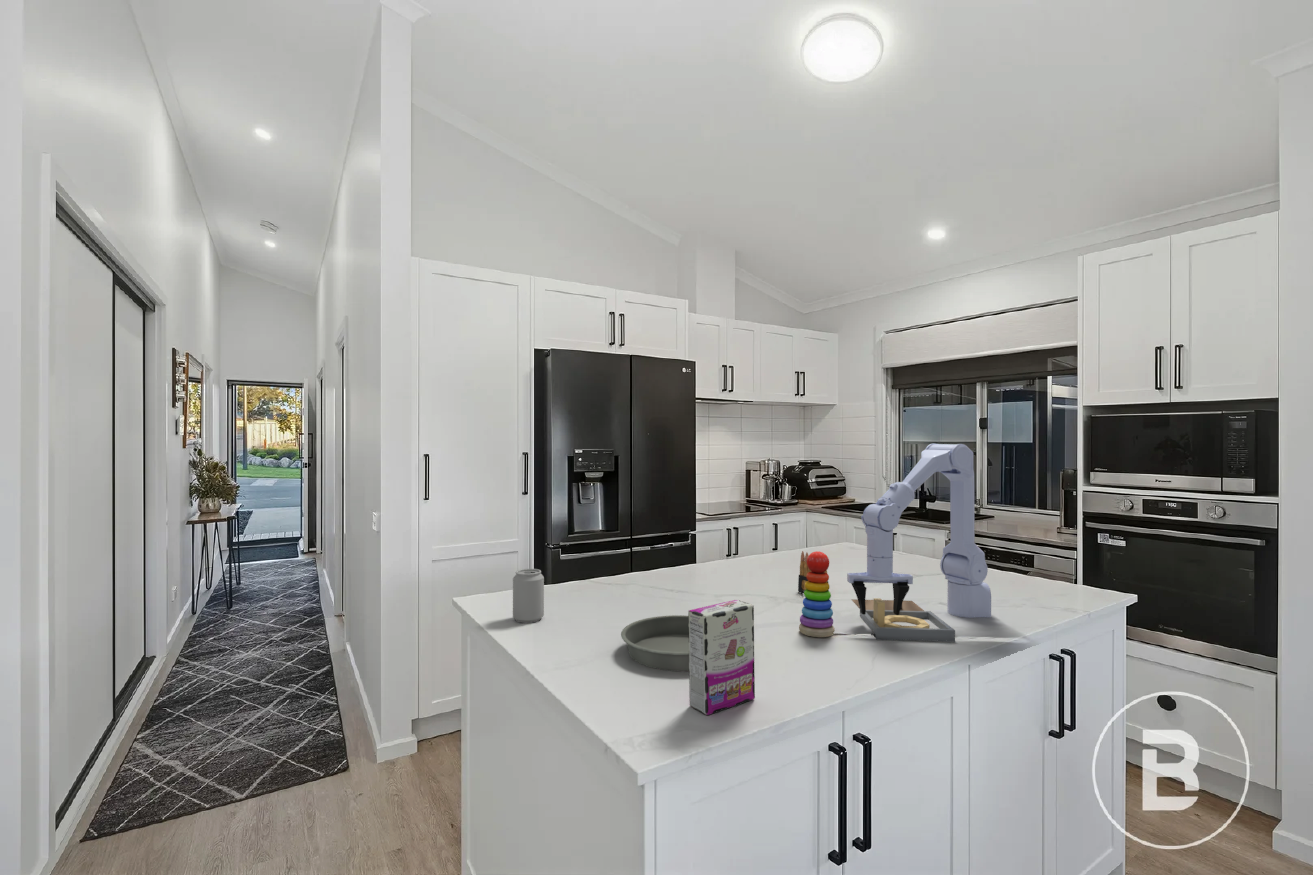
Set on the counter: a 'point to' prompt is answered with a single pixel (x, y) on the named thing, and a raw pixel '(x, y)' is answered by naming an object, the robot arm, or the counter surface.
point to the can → (528, 595)
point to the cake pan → (659, 642)
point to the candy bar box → (721, 656)
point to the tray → (911, 633)
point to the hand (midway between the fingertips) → (879, 613)
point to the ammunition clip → (803, 573)
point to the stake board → (891, 605)
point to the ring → (894, 617)
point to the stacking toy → (817, 599)
